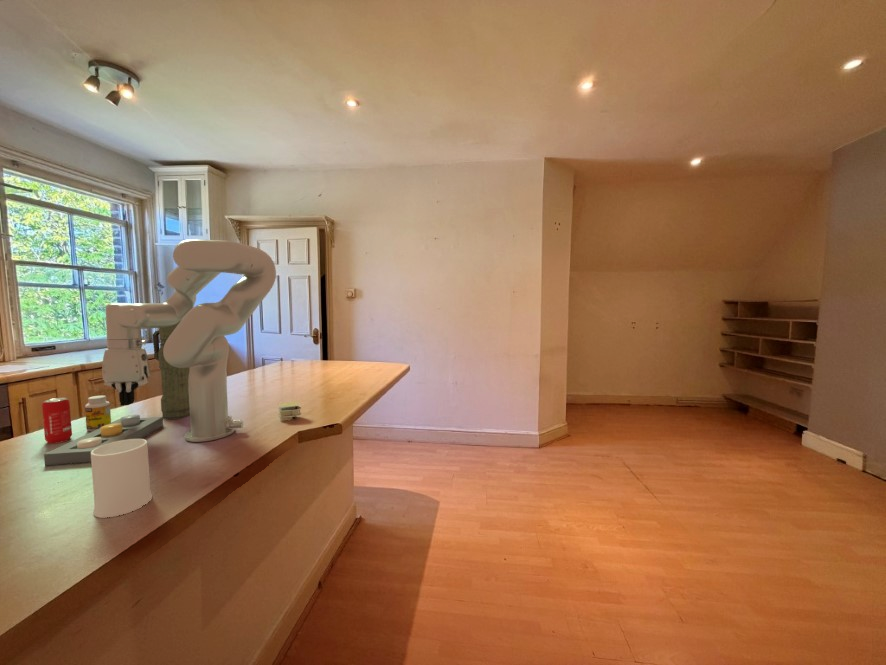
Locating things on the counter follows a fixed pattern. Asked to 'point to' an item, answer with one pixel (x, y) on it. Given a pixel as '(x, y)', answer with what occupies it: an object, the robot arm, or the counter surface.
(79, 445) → the ivory button
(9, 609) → the counter surface
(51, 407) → the beverage can
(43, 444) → the counter surface
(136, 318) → the robot arm
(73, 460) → the panel
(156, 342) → the thermos
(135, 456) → the white oval container
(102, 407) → the supplement bottle
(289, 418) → the stacked layers on plate
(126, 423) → the slate button
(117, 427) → the amber button
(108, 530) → the counter surface
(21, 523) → the counter surface
